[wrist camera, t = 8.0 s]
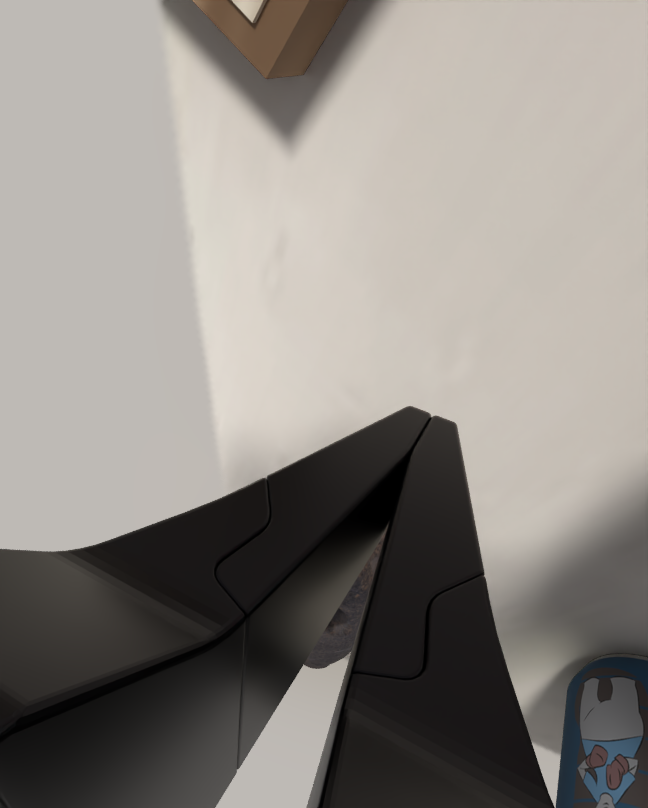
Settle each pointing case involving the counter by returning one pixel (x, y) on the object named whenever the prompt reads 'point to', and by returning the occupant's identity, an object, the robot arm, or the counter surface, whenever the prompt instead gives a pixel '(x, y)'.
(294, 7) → the walnut block
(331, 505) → the robot arm
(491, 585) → the counter surface
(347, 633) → the perforated stone tool
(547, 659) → the counter surface
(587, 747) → the soda can
